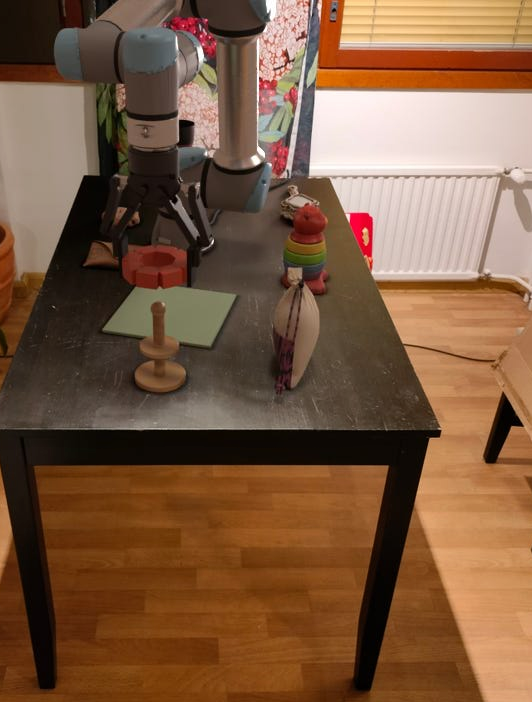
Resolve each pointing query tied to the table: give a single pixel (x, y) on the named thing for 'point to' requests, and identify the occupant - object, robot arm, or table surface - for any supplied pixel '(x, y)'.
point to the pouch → (295, 330)
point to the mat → (173, 314)
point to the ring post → (159, 357)
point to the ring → (149, 277)
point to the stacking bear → (307, 248)
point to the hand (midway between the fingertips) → (157, 279)
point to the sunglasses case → (105, 255)
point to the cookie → (120, 213)
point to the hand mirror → (295, 202)
